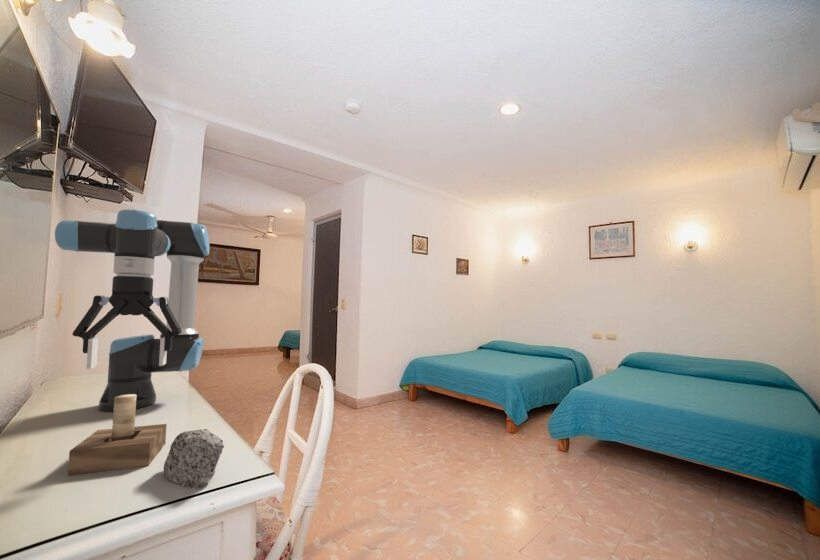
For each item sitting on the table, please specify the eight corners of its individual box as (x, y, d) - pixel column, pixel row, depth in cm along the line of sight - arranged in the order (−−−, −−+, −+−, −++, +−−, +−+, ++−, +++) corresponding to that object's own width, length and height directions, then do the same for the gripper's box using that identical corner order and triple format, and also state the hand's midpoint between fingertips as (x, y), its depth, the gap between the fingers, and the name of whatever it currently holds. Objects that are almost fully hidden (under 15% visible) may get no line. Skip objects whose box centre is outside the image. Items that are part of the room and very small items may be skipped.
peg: (114, 455, 81) (118, 394, 81) (135, 453, 82) (139, 393, 83) (106, 463, 77) (110, 399, 78) (128, 460, 78) (132, 398, 79)
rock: (228, 483, 69) (229, 430, 71) (180, 498, 63) (182, 440, 65) (203, 469, 80) (204, 424, 82) (159, 482, 74) (162, 432, 76)
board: (96, 451, 82) (97, 430, 83) (165, 443, 87) (166, 423, 88) (67, 475, 71) (69, 451, 72) (148, 465, 76) (150, 442, 77)
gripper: (56, 272, 74) (48, 372, 73) (190, 277, 83) (185, 366, 82) (75, 274, 81) (69, 365, 80) (197, 278, 90) (193, 360, 89)
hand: (128, 366), depth 81 cm, fingers open, 13 cm apart
